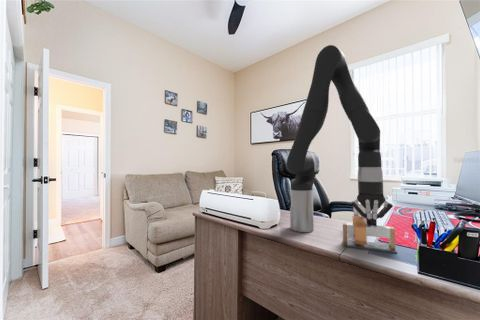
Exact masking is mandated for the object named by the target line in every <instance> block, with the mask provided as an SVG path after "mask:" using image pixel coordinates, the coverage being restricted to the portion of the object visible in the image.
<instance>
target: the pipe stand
mask: <svg viewBox="0 0 480 320" xmlns="http://www.w3.org/2000/svg"><path fill="white" fill-rule="evenodd" d="M348 235H353V236H354V235H355V224H354V223H353V222H352V223H351V222H342V245H343V247H345V248H350V249H351V248H352V249H359V250H366V251H367V250H368V251H375V252H384V253H391V254H398V251H397V249H396V229H395V228H394V227H393V226H389V225H388V226H387V225H366V237H373V238H384V239H385V238H386V239H387V240H388V243H380V242H373V241H372V242H371V241H367V245H362V244H356V242H355V239H354V240H352V239H348Z"/></svg>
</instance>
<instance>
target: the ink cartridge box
mask: <svg viewBox="0 0 480 320" xmlns="http://www.w3.org/2000/svg"><path fill="white" fill-rule="evenodd" d="M358 203H359V206H358V207H359V208H360V209H361V210H362V211H363V212H364V213H366V211H365V208H364V207H363V206H362V205H361V203H360V202H358ZM352 208H353V216H359V217H362V216H361V215H360V214H359V212H358V211H357V210H356V209H355V208H354V207H352ZM362 218H363V220H364V221H365V223H366V225H367V219H366V218H365V217H362Z"/></svg>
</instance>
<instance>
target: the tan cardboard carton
mask: <svg viewBox="0 0 480 320" xmlns="http://www.w3.org/2000/svg"><path fill="white" fill-rule="evenodd" d="M352 223H354V224H355V235H353V237H354V240H355V242H356V244H362V245H367V242H368V241H367V236H366V223H365V221H364V220H363V218H362V217H359V216H354V215H352Z"/></svg>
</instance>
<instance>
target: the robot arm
mask: <svg viewBox="0 0 480 320" xmlns="http://www.w3.org/2000/svg"><path fill="white" fill-rule="evenodd" d="M331 83H333V85H334V86H335V89H336V91H337V94H338V98H339V101H340V105H341V106H342V109H343V110H344V113H345V115H346V117H347V119H348V120H349V122H350V123H351V126H352V128H353V131H354V133H355V135H356V137H357V142H358V154H357V162H358V165H357V166H358V168H357V169H358V170H357V183H358V184H357V188H358V189H357V191H358V194H357V196H356V199H354V200H352V201H350V204H351V205H352V206H353V207H354V208H355V209H356V210H357V211H358V212H359V214H360V215H361V216H362V217H365V218H366V219H367V225H377V221H378V220H377V219H383V218H384V217H385V216H386V214H388V213H389V211H390V210H391V209H393V207H394V205H393V204H392V203H390V202H388V201H387V200H386V197H385V195H384V183H383V182H384V178H383V177H384V176H383V175H384V174H383V168H382V156H381V155H382V154H381V129H380V126H379V125H378V123H377V121H376V119H374V117H373V116H372V114H371V112H370V110H369V108H368V105H367V103H366V101H365V99H364V98H363V96H362V94H361V93H360V91H359V90H358V87H357V85H356V84H355V82H354V80H353V78H352V75H351V73H350V70H349V66H348V62H347V59H346V56H345V54H344V53H343V52H342V50H341V49H340V48H339V47H337V46H336V45H333V44H330V45H326V46H324V47H323V48H322V49H321V50H320V51H319V52H318V54H317V56H316V58H315V62H314V69H313V74H312V79H311V84H310V87H309V90H308V95H307V96H306V97H307V98H306V102H305V104H304V107H303V111H302V114H301V118H300V121H299V125H298V128H297V132H296V134H295V137H294V141H293V144H292V146H291V149H290V150H289V153H288V156H287V159H286V169H287V171H288V173H291V174H293V175H295V177H294V178H295V179H294V180H293V181H291V183H290V207H289V215H290V217H289V219H290V224H289V225H290V231H295V232H300V233H312V232H314V226H315V225H314V198H313V197H314V194H313V186H314V184H315V167H316V166H315V160H314V158H313V157H312V155H311V154H309V153H308V151H309V147H310V145H311V144H312V142H313V140H314V139H315V138H316V137H317V135H319V134H318V133H319V132H320V131H321V130H322V128H323V126H324V123H325V120H326V118H327V113H328V110H329V102H330V101H329V100H330V99H329V98H330V97H329V95H330V87H331ZM358 202H360V203H361V205H362V206H363V207H364V208H365V211H366V213H364V212H363V211H362V210H361V209H360V208H359V207H358V206H359V203H358ZM382 206H383V208H382V209H380V208H381V207H382ZM353 207H352V208H353ZM378 209H380V210H379V212H378ZM377 226H378V225H377Z"/></svg>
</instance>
